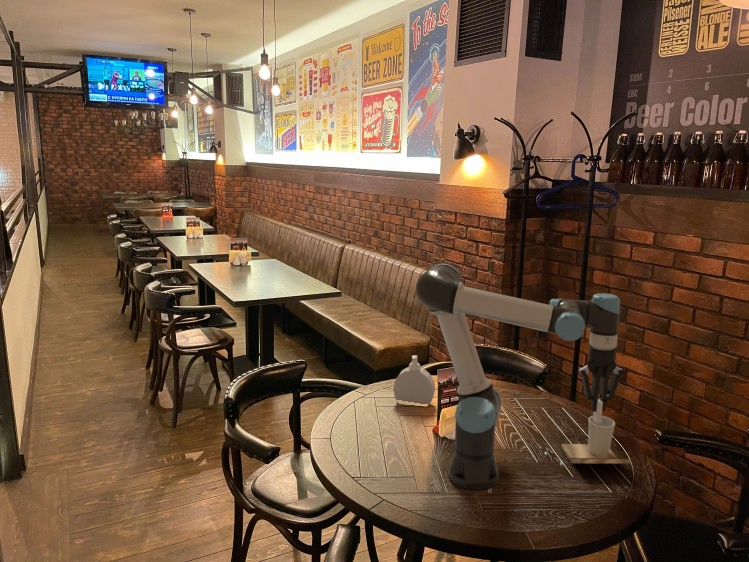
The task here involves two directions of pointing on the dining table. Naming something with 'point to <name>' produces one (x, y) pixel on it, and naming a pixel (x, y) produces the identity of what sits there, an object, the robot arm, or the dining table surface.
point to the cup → (600, 436)
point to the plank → (601, 461)
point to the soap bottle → (414, 384)
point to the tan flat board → (582, 452)
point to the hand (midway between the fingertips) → (597, 420)
